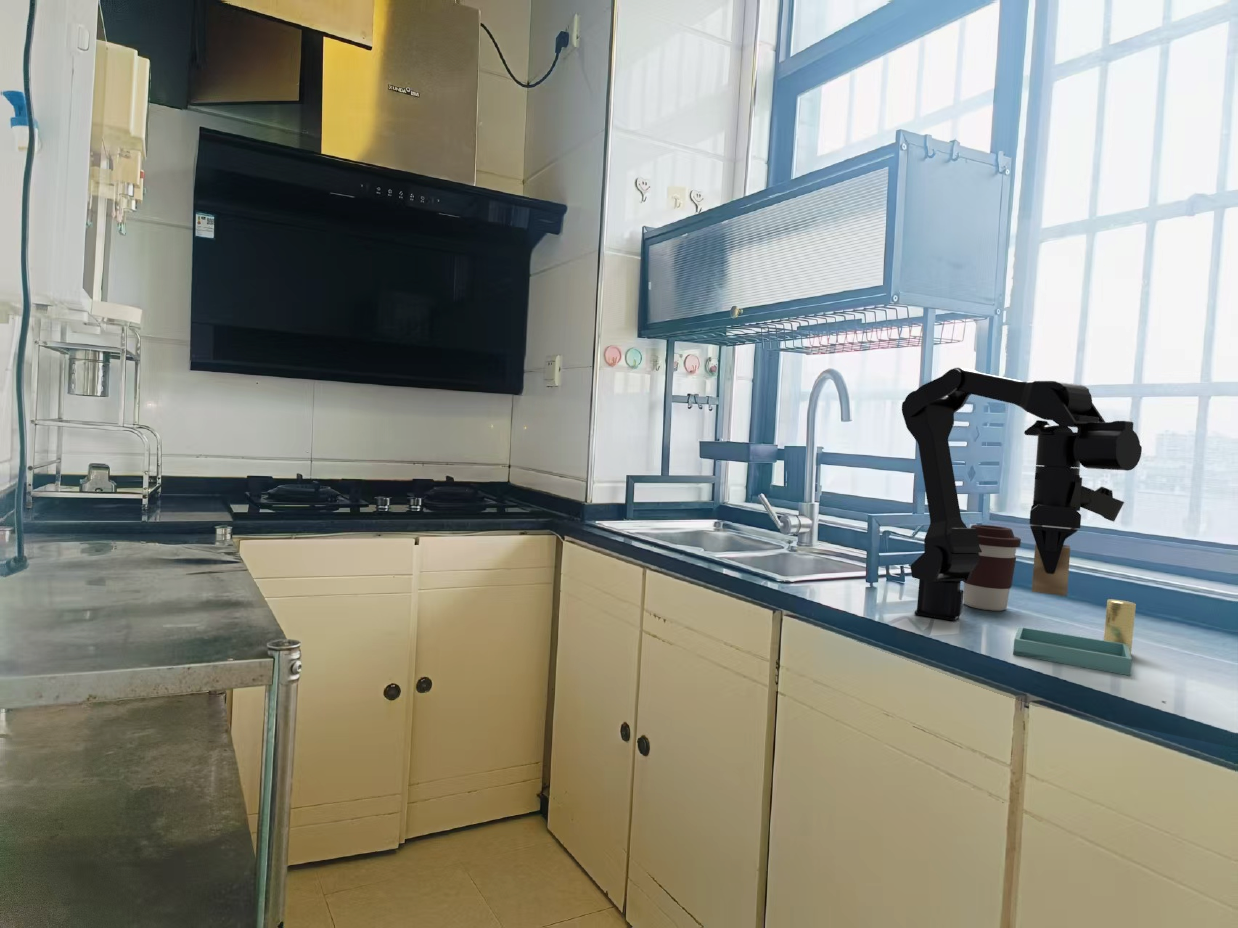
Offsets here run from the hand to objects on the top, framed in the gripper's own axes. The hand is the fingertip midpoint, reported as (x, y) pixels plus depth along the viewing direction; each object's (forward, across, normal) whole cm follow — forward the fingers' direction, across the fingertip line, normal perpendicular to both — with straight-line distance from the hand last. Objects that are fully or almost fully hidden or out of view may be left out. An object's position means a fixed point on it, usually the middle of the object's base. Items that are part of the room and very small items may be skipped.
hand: (1049, 571), depth 116 cm
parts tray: (+11, -4, -3) cm, 12 cm away
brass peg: (+12, +6, -10) cm, 16 cm away
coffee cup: (+11, +28, +10) cm, 31 cm away
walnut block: (+3, 0, 0) cm, 3 cm away
